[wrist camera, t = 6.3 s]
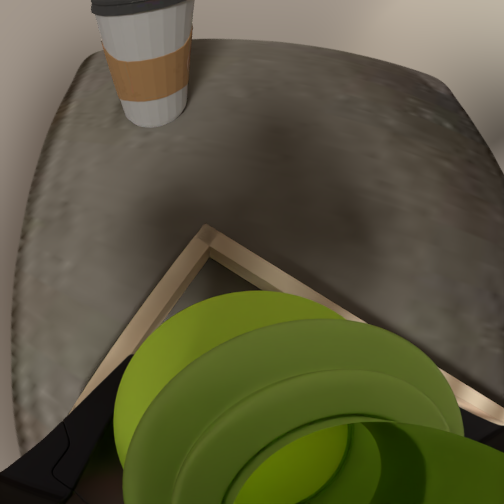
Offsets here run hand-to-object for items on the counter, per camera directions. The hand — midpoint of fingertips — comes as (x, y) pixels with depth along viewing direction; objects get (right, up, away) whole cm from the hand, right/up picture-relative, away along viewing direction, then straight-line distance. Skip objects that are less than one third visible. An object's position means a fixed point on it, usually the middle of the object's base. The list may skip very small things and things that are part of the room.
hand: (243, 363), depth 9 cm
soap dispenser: (-1, -5, +8) cm, 10 cm away
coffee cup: (-9, +18, +19) cm, 27 cm away
